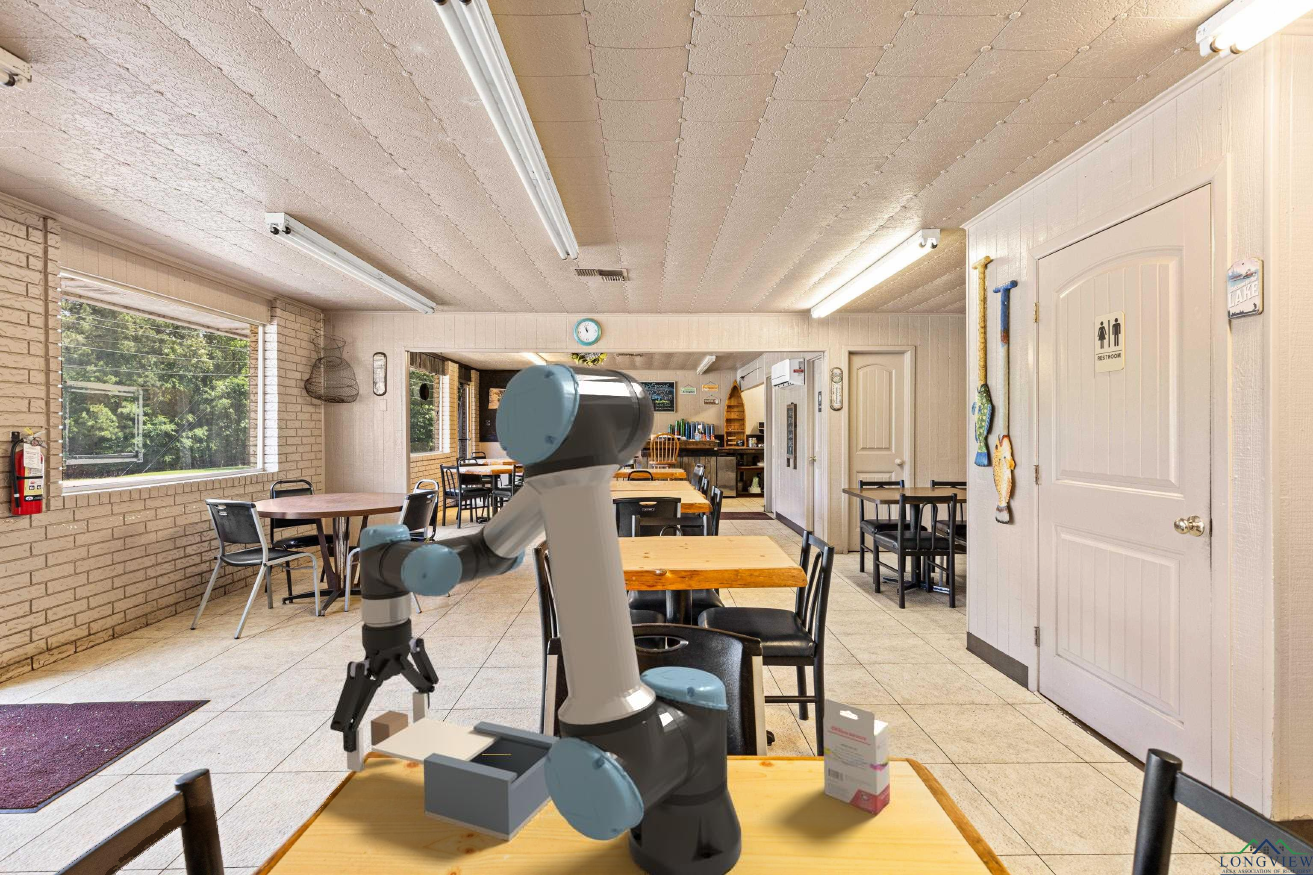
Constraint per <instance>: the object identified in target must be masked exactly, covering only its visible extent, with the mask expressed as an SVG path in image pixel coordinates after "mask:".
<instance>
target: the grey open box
mask: <svg viewBox="0 0 1313 875" xmlns="http://www.w3.org/2000/svg"><path fill="white" fill-rule="evenodd" d="M473 728H474V730H476V731H480V732H485V733H489V734H494V735H498V736H501V738H500V739H499V740H497V741H496V742H494V743H493V744H492V745H490V746H489V747H487V748H486V749H485V750H483V751H482V752H481V753H479V754H478V755H476V756H475V757H474V758H472V759H471V760H470V761H465V760H461V759H457V758H453V757H449V756H445V755H440V754H436V753H432V754H431V755H429V756H428V757H426V758H425V759H424V765H423V783H424V784H423V787H424V788H423V789H424V790H423V791H424V792H423V793H424V795H423V796H424V817H426V818H430V819H434V820H437V821H439V822H444V823H447V824H450V825H453V826H457V827H459V828H464V829H467V830H470V831H474V832H477V833H480V834H483V835H486V836H491V837H494V838H497V839H500V840H503V841H507V842H510V841H511V840H512V839H513V838H514V837H516V836H517V835H518V834H519V832H520V831H521V830H522V829H524V828H525V827H526V826H527V825H528V823H530V822H531V821H532V819H534V817H536V816H537V814H539V813H540V812H541V811H542V810H543V809H544V808H545V807H547V805H549V803H550V802H551V801H552V799H551V797H550V794H549V791H548V788H547V785H546V781H545V774H544V765H545V759H546V757H547V755H548V753H549V750H550V749H551V747H552V746H553V744H554V743H555V742H557V741H559V740H560V739H561V738H560V736H554V735H550V734H544V733H540V732H535V731H531V730H526V729H521V728H516V727H512V726H506V725H501V724H497V723H493V722H488V721H483V720H482V721H480V722H478V723H477V724H475V725H474V726H473ZM482 754H511V755H482Z"/></svg>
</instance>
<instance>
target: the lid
mask: <svg viewBox="0 0 1313 875" xmlns="http://www.w3.org/2000/svg"><path fill="white" fill-rule="evenodd" d="M500 738H501V736H498V735H494V734H489V733H485V732H480V731H476V730H474V727H470V726H464V725H460V724H456V723H451V722H447V721H442V720H438V719H433V718H429V717H428V718H422V719H420V720H419V721H417V722H415V723H413V722H412V724H410V725H409V714H407V713H403V712H399V711H393V710H388V711H386V712H384V713H382V714H380V715H378V716H377V717H375V718H373V719H371V720H370V742H371V743H370V744H371V746H372V747H371V752H372V753H373V752H374V753H377V754H380V755H384V756H388V757H392V758H396V759H400V760H404V761H407V762H410V763H411V762H413V763H414V764H415V763H416V764H420V765H423V766H424V759H425V758H426V757H428V756H429V755H431V754H432V753H436V754H440V755H445V756H449V757H453V758H457V759H461V760H465V761H470V760H471V759H472V758H474V757H475V756H476V755H478V754H479V753H481V752H482V751H483V750H485V749H486V748H487V747H489V746H490V745H492V744H493V743H494V742H496V741H497V740H499V739H500Z"/></svg>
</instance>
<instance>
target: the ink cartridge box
mask: <svg viewBox="0 0 1313 875" xmlns="http://www.w3.org/2000/svg"><path fill="white" fill-rule="evenodd" d="M823 702H824V712H823V714H824V716H823V718H822V719H823V720H822V722H823V723H822V724H823V725H822V726H823V764H824V766H823V771H824V772H823V776H824V777H823V778H824V780H823V782H824V786H823V787H824V793H825V795H828V796H830V797H833V798H835V799H837V800H840V801H843V802H845V803H847V804H850V805H851V806H854V807H856V808H857V807H858V808H860V809H861V810H864V811H867V812H870V813H872V814H874V815H878V814H879V813H880V812H881V811H882V810H883V809H884V808H885V807H886V805H888V803H889V802H890V801H891V790H890V788H891V787H890V786H891V784H890V746H889V744H890V743H889V739H890V738H889V737H890V736H889V723H888V722H884V721H881V720H878V719H877V720H876V715H875V713H874V712H873V711H871V710H866V709H863V708H860V707H857V706H854V705H851V704H847V703H844V702H840V701H838V700H834V699H830V698H828V697H827V698H825V699H824V701H823Z"/></svg>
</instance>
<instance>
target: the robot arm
mask: <svg viewBox="0 0 1313 875" xmlns="http://www.w3.org/2000/svg"><path fill="white" fill-rule="evenodd" d="M497 405H498V406H497V409H496V414H495V416H496V418H495V431H496V432H495V433H496V436H497V441H498V444H499V446H500V448H501V450H502V451H504V452H505V455H506V456H507V457H508V459H509V460H512V461H514V462H515V463H516V464H519V465H522V471H523V472H522V473H523V478H524V485H522V486H521V488H519V489H518V490H517V491H516V493H515V494H514V495H513V496H511V498H510V499H509V500H508V501H507V502H506V503H505V504H504V505H503V506H502V507H501V508H500V509H499V510H498V511H497V512H496V513H495V515H494V516H493V517H492V518H490V519H489V521H488V522H487V523H486V524H484V526H482V528H480V529H479V531H477V532H475V533H471V534H466V535H460V536H455V537H451V538H444V539H438V540H433V541H432V540H431V541H427V542H417V541H412V540H411V539H412V538H411V536H410V530H409V528H408V526H407V525H405V524H401V523H390V524H389V523H387V524H377V525H371V526H367V527H365V528H363V529H362V530H361V532H360V534H359V550H358V555H359V573H360V574H359V577H360V595H361V596H360V600H361V601H360V603H361V604H360V605H361V611H360V612H361V613H360V614H361V621H362V623H363V624H362V626H361V644H362V647H363V649H364V651H365V656H364V659H363V660H360V661H353V660H352V661H349V662H348V663H347V667H346V668H347V669H346V678H345V681H344V684H343V686H342V691H341V693H340V696H339V699H338V702H337V704H336V708H335V710H334V714H333V715H332V716H333V717H332V720H331V724H330V726H329V729H330V730H332V731H335V732H339V733H342V744H343V746H342V748H343V751H344V752H346V764H347V766H346V768H347V769H346V770H349V771H353V772H357V773H361V772H363V771H364V770H365V758H364V757H365V756H364V755H365V754H364V752H365V750H364V728H363V727H360V725H361V722H362V721H363V719H364V717H365V715H366V712H367V710H368V708H369V707H370V704H371V703H372V701H373V698H374V697H375V695H376V693H377V691H378V689H379V688H381V687H382V686H383V683H384V682H386V681H388V680H390V679H392V677H397V676H399V675H401V676H403V678H404V679H406V681H408V682H409V684H410V685H411V686H413V688H414V689H415V690H417V691H414V692H412V693H411V694H412V724H413V723H415V722H417V721H419V720H420V719H422V718H429V710H430V706H431V703H430V702H431V701H430V699H431V698H430V694H431V693H434V691H435V689H436V688H435V685H438V683H439V680H440V679H439V675H438V674H437V672H436V669H435V668H434V666H433V664H432V661H431V659H430V657H429V655H428V653H427V651H426V648H425V647H426V646H425V639H424V638H423V637H417V636H413V632H412V631H413V628H412V625H413V624H412V623H413V622H412V621H413V620H412V619H411V618H410V617H411V616H412V595H411V593H413V594H414V595H415V594H416V595H418V596H422V597H435V598H436V597H442V596H445V595H447V594H448V593H450V592H451V591H452V590H453V589H455V588H456V587H457V585H461V584H466V583H469V582H472V581H477V580H482V579H486V578H490V577H495V576H500V575H501V576H502V575H505V574H507V573H508V572H511V571H514V570H517V569H518V568H520V566H522V564H523V562H524V557H525V556H526V549H527V548H528V547H529V546H530V545H531V544H532V543H533V542H535V540H536V539H538V537H540V536H541V535H542V534H543V533H544V534H545V540H546V541H545V542H546V548H547V554H548V560H549V568H550V575H551V583H552V590H553V595H554V603H555V610H556V616H557V624H558V630H559V637H560V638H559V639H560V643H561V652H562V656H563V657H562V658H563V664H564V671H565V679H566V685H567V692H568V695H567V697H566V699H565V700H564V702H563V703H562V704H561V706H560V707H559V709H558V711H557V716H558V717H557V718H558V722H559V723H558V725H559V730H560V737H561V738H559V739H560V740H559V741H557V742H555V743H554V744H553V746H552V747H551V749H550V750H549V753H548V755H547V757H546V759H545V765H544V774H545V781H546V785H547V788H548V791H549V794H550V797H551V799H552V800H551V801H552V803H553V805H554V806H555V808H556V810H557V812H559V814H560V815H561V817H563V818H564V819H565V820H566V821H567V824H568V825H569V826H571V827H572V828H573V829H574V830H575V831H576V832H578V833H579V834H581V835H582V836H585V837H586V838H588V839H592V840H595V841H602V842H603V841H604V842H605V841H610V840H613V839H616V838H618V837H620V836H621V835H622V834H624V833H625V832H627V831H628V849H629V853H630V856H631V859H632V860H633V862H635V864H636V865H637V866H638V867H639V868H640V869H641V870H643V871H644V872H645V873H647V874H648V875H723V874H726V873H727V872H729V870H730V869H732V868H733V867H734V866H735V865H736V863H737V862H738V861H739V858H741V857H740V856H741V855H742V854H741V853H742V846H743V845H742V841H743V840H742V827H741V823H740V820H739V817H738V815H737V811H736V808H735V805H734V802H733V800H732V797H731V795H730V794H731V793H730V792H729V788H728V786H729V785H728V722H727V721H728V720H727V719H728V715H727V714H728V710H729V708H728V706H729V705H728V704H727V697H726V696H727V695H726V693H727V692H726V687H725V685H724V683H723V681H722V680H720V678H719V677H718V676H716V675H714V674H712V673H710V672H708V671H704V670H701V669H697V668H692V667H683V666H662V667H661V666H660V667H654V668H649V669H648V670H645V671H644V672H642V673H641V675H640V670H639V664H638V663H639V662H638V657H637V651H636V645H635V644H636V643H635V639H634V638H635V637H634V631H633V624H632V618H631V615H630V614H631V612H630V605H629V599H628V592H627V586H626V579H625V573H624V569H623V562H622V554H621V548H620V541H619V535H618V529H617V528H618V527H617V521H616V514H615V509H614V502H613V496H612V489H611V483H612V480H613V478H614V477H615V475H616V474H617V473H618V472H620V471H621V470H622V469H623V468H624V467H625V466H627V464H628V463H629V462H631V461H632V460H633V459H634V457H636V456H637V455H638V454H639V453H640V452H641V450H642V449H643V448H644V447H645V445H646V444H647V442H648V440H649V438H650V437H651V434H652V431H653V428H654V422H655V409H654V404H653V402H652V398H651V396H650V394H649V392H648V391H647V388H646V387H644V385H643V384H642V383H641V382H640V381H639V380H638V379H637V378H636V377H634V376H632V375H630V374H628V373H627V372H624V371H621V370H617V369H607V368H606V369H604V368H603V369H600V368H593V367H592V368H591V367H585V366H584V367H582V366H573V365H566V364H564V363H555V364H536V365H530V366H527V367H525V368H523V369H521V370H520V371H519V372H517V373H516V374H515V375H514V376H513V377H512V378H511V379H510V380H509V381H508V382H507V385H506V387H505V390H504V392H502V394H501V396H500V398H499V401H498V404H497ZM409 655H410V657H411V658H412V661H413V663H414V664H413V663H412V661H411V660H410V659H409V658H408V657H409ZM415 667H416V668H415ZM371 678H372V679H371Z"/></svg>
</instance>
